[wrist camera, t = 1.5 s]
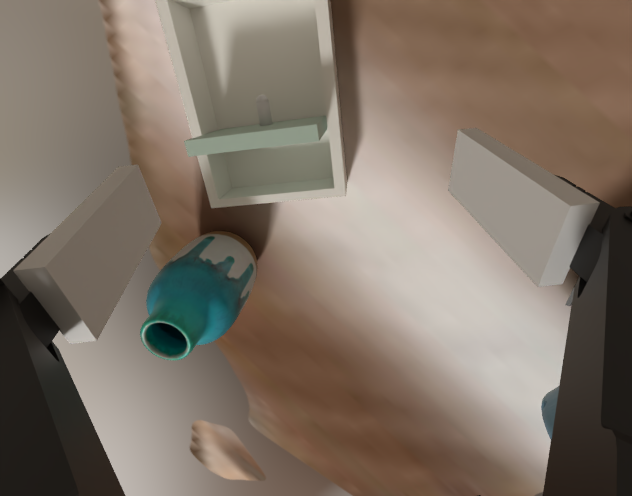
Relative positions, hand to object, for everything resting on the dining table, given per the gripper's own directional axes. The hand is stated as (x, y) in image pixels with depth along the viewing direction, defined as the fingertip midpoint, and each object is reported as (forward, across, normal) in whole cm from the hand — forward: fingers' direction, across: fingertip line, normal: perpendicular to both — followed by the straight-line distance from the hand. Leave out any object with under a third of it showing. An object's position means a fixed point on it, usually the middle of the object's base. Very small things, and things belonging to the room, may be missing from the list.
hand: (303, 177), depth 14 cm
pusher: (+29, +3, +4) cm, 29 cm away
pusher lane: (+30, +2, +3) cm, 31 cm away
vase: (+28, +12, +23) cm, 38 cm away
